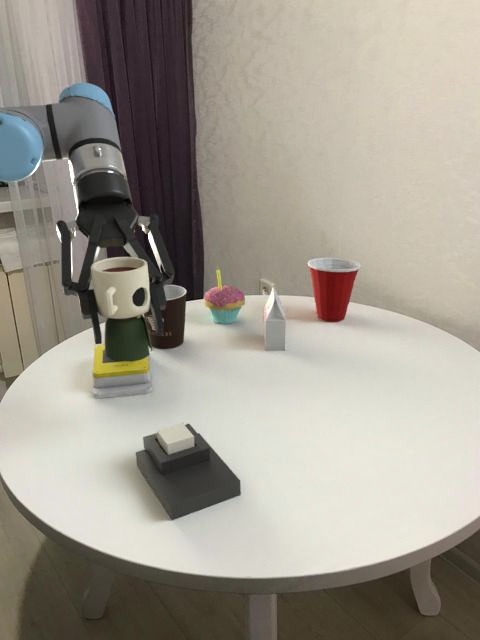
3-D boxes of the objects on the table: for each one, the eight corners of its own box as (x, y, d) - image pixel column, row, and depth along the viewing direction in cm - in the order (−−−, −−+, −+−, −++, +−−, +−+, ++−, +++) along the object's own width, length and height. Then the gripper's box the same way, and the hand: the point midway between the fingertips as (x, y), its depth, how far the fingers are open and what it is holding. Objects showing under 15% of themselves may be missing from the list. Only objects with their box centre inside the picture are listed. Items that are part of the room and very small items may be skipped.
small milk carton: (283, 335, 115) (283, 286, 111) (285, 350, 109) (286, 299, 105) (264, 335, 115) (264, 286, 111) (265, 350, 109) (265, 299, 104)
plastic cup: (363, 312, 126) (367, 257, 121) (349, 330, 117) (353, 272, 112) (315, 304, 130) (317, 251, 125) (298, 321, 121) (299, 265, 116)
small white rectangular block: (157, 441, 76) (156, 430, 75) (183, 434, 77) (182, 422, 77) (168, 456, 73) (167, 444, 72) (194, 447, 75) (194, 436, 74)
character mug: (143, 376, 75) (133, 279, 70) (89, 373, 76) (75, 276, 70) (164, 340, 85) (158, 253, 79) (116, 338, 86) (106, 251, 80)
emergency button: (146, 331, 106) (150, 368, 93) (148, 352, 108) (152, 392, 95) (93, 335, 104) (89, 374, 91) (96, 357, 106) (93, 398, 93)
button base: (136, 465, 77) (133, 439, 76) (199, 445, 81) (197, 420, 80) (171, 520, 68) (169, 493, 66) (240, 495, 72) (240, 468, 70)
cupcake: (230, 330, 117) (229, 272, 112) (195, 322, 121) (192, 266, 116) (252, 316, 124) (252, 261, 119) (219, 309, 127) (217, 255, 122)
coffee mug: (198, 341, 112) (196, 292, 108) (162, 356, 107) (158, 304, 102) (161, 325, 120) (157, 278, 115) (125, 337, 114) (120, 289, 110)
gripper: (21, 172, 76) (45, 335, 69) (174, 165, 82) (210, 314, 75) (27, 206, 83) (50, 357, 76) (169, 196, 89) (201, 336, 82)
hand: (129, 335), depth 76 cm, fingers closed on character mug, 7 cm apart
